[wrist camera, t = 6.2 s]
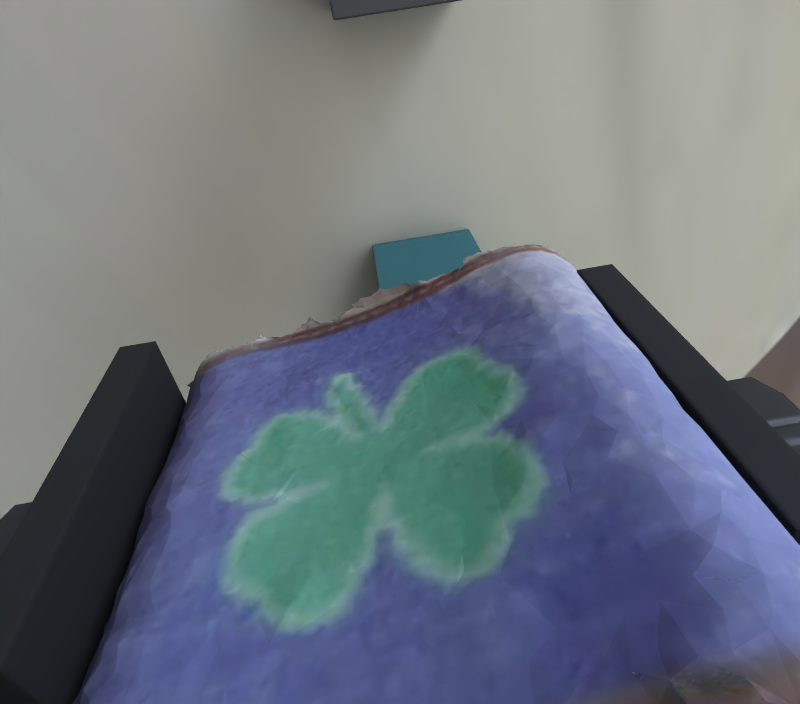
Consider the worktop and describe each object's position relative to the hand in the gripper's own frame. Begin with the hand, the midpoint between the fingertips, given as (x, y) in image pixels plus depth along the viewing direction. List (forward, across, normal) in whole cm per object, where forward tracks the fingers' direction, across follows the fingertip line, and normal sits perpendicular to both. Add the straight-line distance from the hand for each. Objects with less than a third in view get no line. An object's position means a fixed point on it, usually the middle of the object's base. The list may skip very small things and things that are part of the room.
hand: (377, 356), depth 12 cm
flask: (+1, 0, 0) cm, 1 cm away
